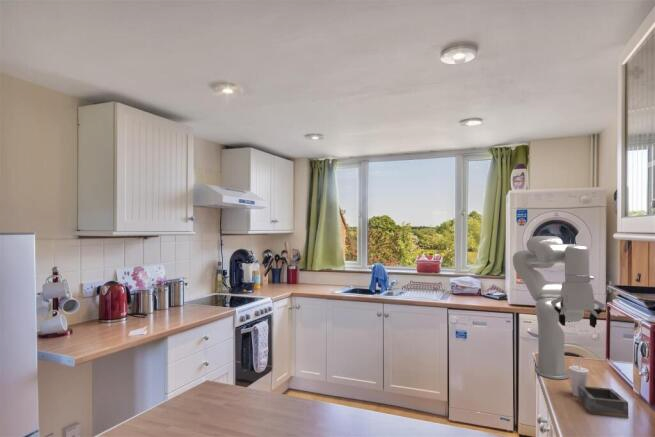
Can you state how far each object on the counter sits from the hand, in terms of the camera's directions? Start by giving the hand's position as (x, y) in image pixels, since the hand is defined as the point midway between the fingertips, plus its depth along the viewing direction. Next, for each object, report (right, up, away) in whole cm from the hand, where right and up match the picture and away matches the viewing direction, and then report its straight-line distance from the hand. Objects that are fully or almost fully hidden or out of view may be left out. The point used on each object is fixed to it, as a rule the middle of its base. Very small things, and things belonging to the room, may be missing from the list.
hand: (577, 325), depth 139 cm
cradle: (+2, -26, -10) cm, 27 cm away
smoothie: (+1, -26, 0) cm, 26 cm away
